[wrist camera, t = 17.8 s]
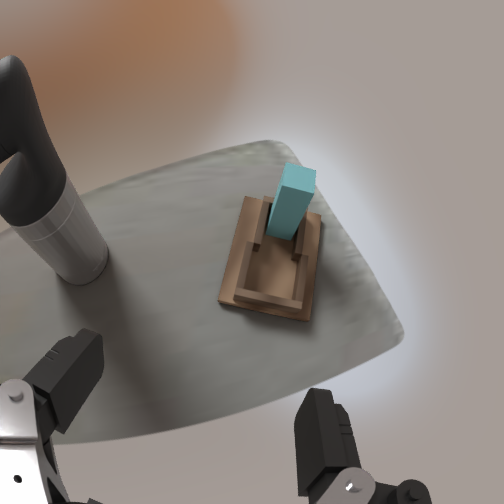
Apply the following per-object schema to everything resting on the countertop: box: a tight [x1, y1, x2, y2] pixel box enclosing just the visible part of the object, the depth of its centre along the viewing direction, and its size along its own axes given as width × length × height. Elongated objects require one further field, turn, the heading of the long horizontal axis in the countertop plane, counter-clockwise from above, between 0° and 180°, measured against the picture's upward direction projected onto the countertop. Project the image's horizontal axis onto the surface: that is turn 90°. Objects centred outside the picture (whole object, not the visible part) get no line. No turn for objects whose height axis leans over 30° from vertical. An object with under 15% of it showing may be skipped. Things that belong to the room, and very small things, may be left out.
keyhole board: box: [218, 196, 321, 322], centre depth 43 cm, size 13×18×4 cm
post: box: [265, 162, 316, 241], centre depth 41 cm, size 4×4×12 cm
